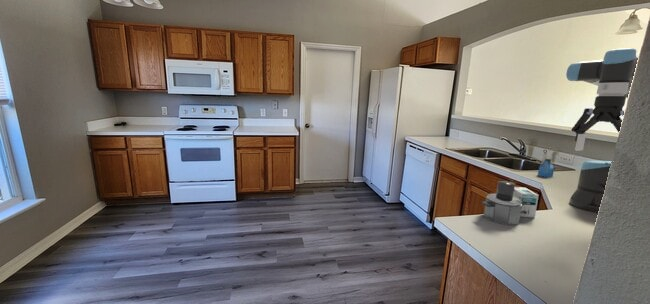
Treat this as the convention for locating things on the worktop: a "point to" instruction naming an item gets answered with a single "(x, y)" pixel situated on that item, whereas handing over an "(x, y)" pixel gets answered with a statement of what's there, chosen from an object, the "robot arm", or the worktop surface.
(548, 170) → the perfume bottle
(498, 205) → the pot
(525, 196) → the light bulb box
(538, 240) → the worktop surface
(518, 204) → the lid
